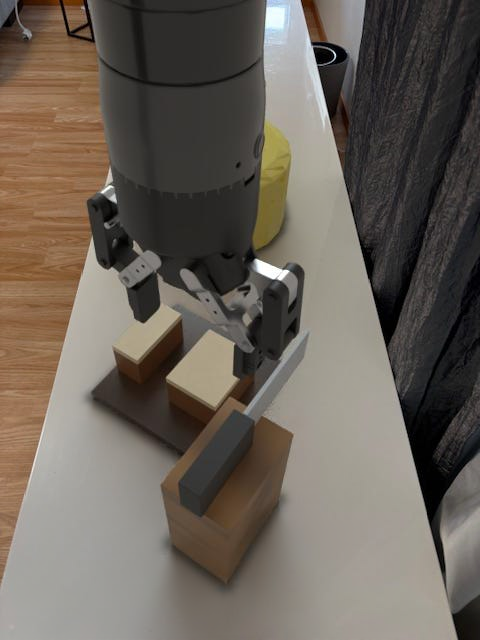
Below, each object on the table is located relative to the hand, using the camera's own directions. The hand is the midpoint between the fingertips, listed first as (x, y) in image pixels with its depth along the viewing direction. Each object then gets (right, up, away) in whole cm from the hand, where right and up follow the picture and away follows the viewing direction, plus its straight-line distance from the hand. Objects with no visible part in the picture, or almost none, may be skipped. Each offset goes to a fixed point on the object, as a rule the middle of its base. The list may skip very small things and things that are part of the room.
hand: (195, 341), depth 40 cm
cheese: (-1, +22, +68) cm, 71 cm away
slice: (-10, -4, +44) cm, 45 cm away
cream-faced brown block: (-1, -9, +40) cm, 41 cm away
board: (-4, -8, +43) cm, 44 cm away
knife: (+4, -10, +18) cm, 21 cm away
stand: (+2, -24, +30) cm, 38 cm away
